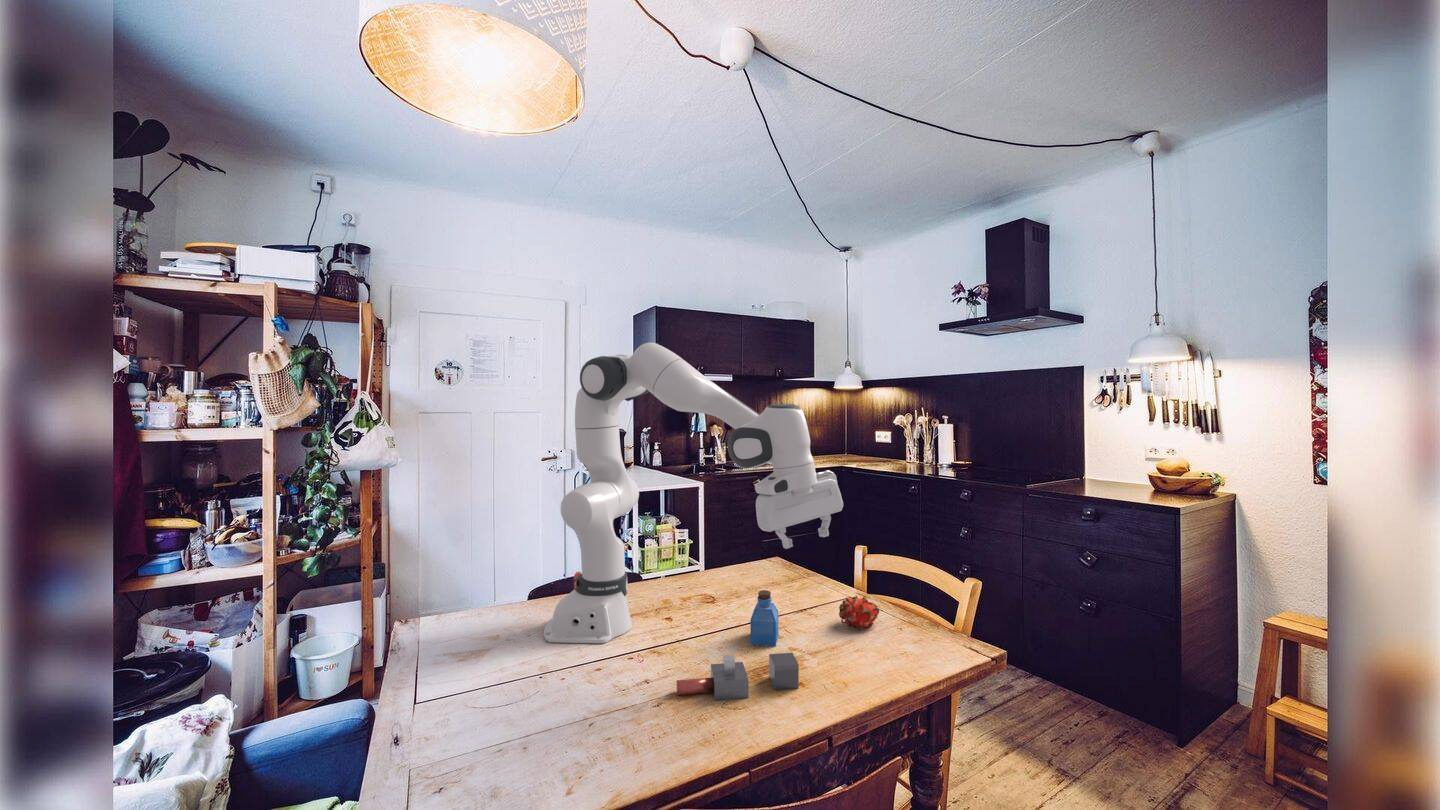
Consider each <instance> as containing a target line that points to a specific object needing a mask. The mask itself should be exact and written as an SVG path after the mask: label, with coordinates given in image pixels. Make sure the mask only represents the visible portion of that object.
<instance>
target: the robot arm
mask: <svg viewBox="0 0 1440 810" xmlns="http://www.w3.org/2000/svg"><path fill="white" fill-rule="evenodd" d="M579 383H580V386H581V388H579V389H578V391H577V393H576V397H575V407H574V431H575V445H576V446H575V447H576V448H575V449H576V456H577V459H578V460H579V462H580V463H581V464H583V465H584V466H585V468H586V469H587V472H588V474H589V479H590V482H588V483H584V484H582V485H578V486H577V487H575V488H574V489H572V490H571V491H570V492H568V493H567V494H565V496H564V497H563V498H562V500H561V503H560V516H561V518H562V521H564V523H565V524H566V525H567V526H568V527H569V528H570V529H571V530H573V531H574V533H575V535H576V538H577V540H578V544H579V547H580V558H581V571H576V572H575V573H574V575H573V588H574V589H573V590H572V591H570V593H568V594H567V595H565V596H564V597H563V598H562V599H560V601H558V603H557V604H556V606H555V608H554V611H553V615H552V618H550V619H549V620H548V621H547V622H546V624H545V626H544V629H543V638H545V639H544V640H545V641H546V640H547V641H548V643H563V644H564V643H566V644H567V643H568V644H571V643H572V644H606V643H608V642H609V641H610V640H612V639H614V638H616V637H618V636H621V635H624V634H625V633H627V632H628V631H630V630H631V628H632V627H633V621H632V618H631V614H630V610H629V605H628V598H627V597H628V596H627V594H628V587H629V586H628V574H627V571H626V563H625V561H626V560H625V558H626V556H625V555H626V554H625V543H624V542H623V540H622V539H621V538H619V537H618V536H617V535H616V532H615V528H614V520H615V519H617V518H619V517H621V516H624V515H626V514H627V513H628V512H630V510H631V509H633V507H635V506H636V504H637V502H638V501H639V497H640V491H639V487H638V484H637V483H636V482H635V480H634V479H633V478H632V477H631V476H630V475H629V473H628V471H627V468H626V466H625V463H624V461H623V456H622V450H621V439H620V423H619V406H620V404H621V403H622V402H623V401H626V402H630V401H632V400H635V399H637V398H640V397H642V396H644V395H646V394H648V393H650V394H652V395H653V396H654V397H655V398H656V399H658V400H659V401H660V402H661V403H662V404H664V405H666V406H667V407H670V408H671V409H673V410H675V411H677V412H684V413H696V414H697V413H698V414H703V415H704V414H706V415H710V416H713V417H716V418H718V419H720V420H721V421H723V422H725V423H726V424H727V425H729V426H730V427H731V428H733V429H734V430H733V431H732V432H731V433H730V434H729V436H728V439H727V451H728V455H729V457H730V459H731V460H732V462H733V463H734V464H735V465H736V466H738V467H740V468H743V469H755V468H758V467H761V466H764V465H767V464H769V463H770V464H771V466H772V469H773V472H772V473H770V474H768V475H767V476H766V477H765V478H763V479H761V480H760V481H759V482H757V483H756V484H755V485H754V491H755V493H757V494H758V496H757V497H756V500H755V511H756V513H755V515H756V520H757V521H756V522H757V525H758V527H759V529H761V530H762V531H764V532H768V533H771V532H774V531H775V535H776V536H777V537H778V538H779V540H780V541H781V543H782V547H783V549H785V550H787V549H790V548H793V547H794V544H793V539H792V538H789V537H788V536H787V535H786V533H787V527H788V528H789V527H791V526H794V525H798V524H802V523H805V522H809V521H812V520H815V519H818V518H820V520H821V525H820V527H819V528H817V531H818V536H819V537H820V538H826V537H829V535H830V532H829V527H830V524H831V520H832V516H831V515H832V514H835V513H839V512H841V511H842V510H843V507H844V501H843V498H842V493H841V491H840V488H839V485H838V479H837V475H836V474H835V473H834V472H833V471H831V470H829V469H827V470H826V469H825V470H824V471H819V472H816V465H815V459H814V458H813V455H812V453H811V437H810V432H809V428H808V423H807V419H806V416H805V414H804V411H803V410H802V408H801V407H800V406H799V405H797V404H794V403H793V404H792V403H774V404H770V405H767V406H766V407H765V409H764V410H763V411H762V412H761V413H759V412H757V411H756V410H754V409H753V408H752V407H750V406H748V405H747V404H745V403H744V402H743V401H741V400H740V399H738V398H736V397H735V396H734V395H732V394H731V393H730V392H728V391H726V390H724V389H723V388H722V387H720V386H719V385H717V384H716V383H715V382H713V381H712V380H710V379H709V378H708V377H706V376H705V375H704V374H702V373H701V372H700V371H699V370H697V369H696V368H695V367H693V366H692V365H691V364H690V363H688V362H687V361H686V360H684V359H683V358H682V357H681V356H680V355H678V354H676V353H675V352H674V351H672V350H670V349H668V348H666V347H664V346H663V345H660V344H659V343H656V342H645V343H643V344H641V345H640V346H638V347H637V348H636V349H635V350H634V351H633V353H632V355H629V354H616V355H608V356H607V355H601V356H596V357H593V358H591V359H589V360H587V361H586V362H585V363H584V364H583V366H582V367H581V370H580V373H579ZM547 641H546V642H547Z"/></svg>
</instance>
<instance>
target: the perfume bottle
mask: <svg viewBox="0 0 1440 810" xmlns="http://www.w3.org/2000/svg"><path fill="white" fill-rule="evenodd" d="M757 594H758V596H757V601H756V605H755V607H754V609H753V612H752V614H751V617H750V621H749V622H750V623H749V624H750V627H749V628H750V645H754V646H755V645H756V646H763V647H764V646H765V647H775V646H776V647H777V644H776V643H778V638H779V610H778V608H777V606H776V604H774V602H772V596H771V594H772V592H771V591H769V590H768V589H767V590H765V589H764V590H763V589H762V590H759V591H758V592H757ZM766 645H767V646H766Z"/></svg>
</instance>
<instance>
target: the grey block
mask: <svg viewBox="0 0 1440 810" xmlns="http://www.w3.org/2000/svg"><path fill="white" fill-rule="evenodd" d="M768 656H769V657H768V659H769V660H768V662H769V663H768V664H769V665H768V668H769V670H768V672H769V673H768V674H769V675H768V677H769V679H770V682H771V685H772V688H773V690H774V691H780V690H781V691H782V690H792V689H793V690H794V689H799V682H800V681H799V680H800V678H799V668H800V667H799V666H800V665H799V663H798V660H797V659H796V657H795V655H794V653H793V652H783V653H782V652H781V653H771V654H768Z"/></svg>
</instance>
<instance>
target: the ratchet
mask: <svg viewBox="0 0 1440 810" xmlns="http://www.w3.org/2000/svg"><path fill="white" fill-rule="evenodd" d="M735 659H736V658H735V656H734V654H727V655H726V654H725V655H722V663H714V664H713V663H712V664H710V676H709V677H697V678H687V679H677V680H676V695H677V696H679V695H680V696H681V695H695V694H705V693H712V694H713V698H714V699H713V700H714V701H726V700H737V699H749V676H748V674H747V671H746V667H745V665H744V662H743V661H736V660H735Z"/></svg>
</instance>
